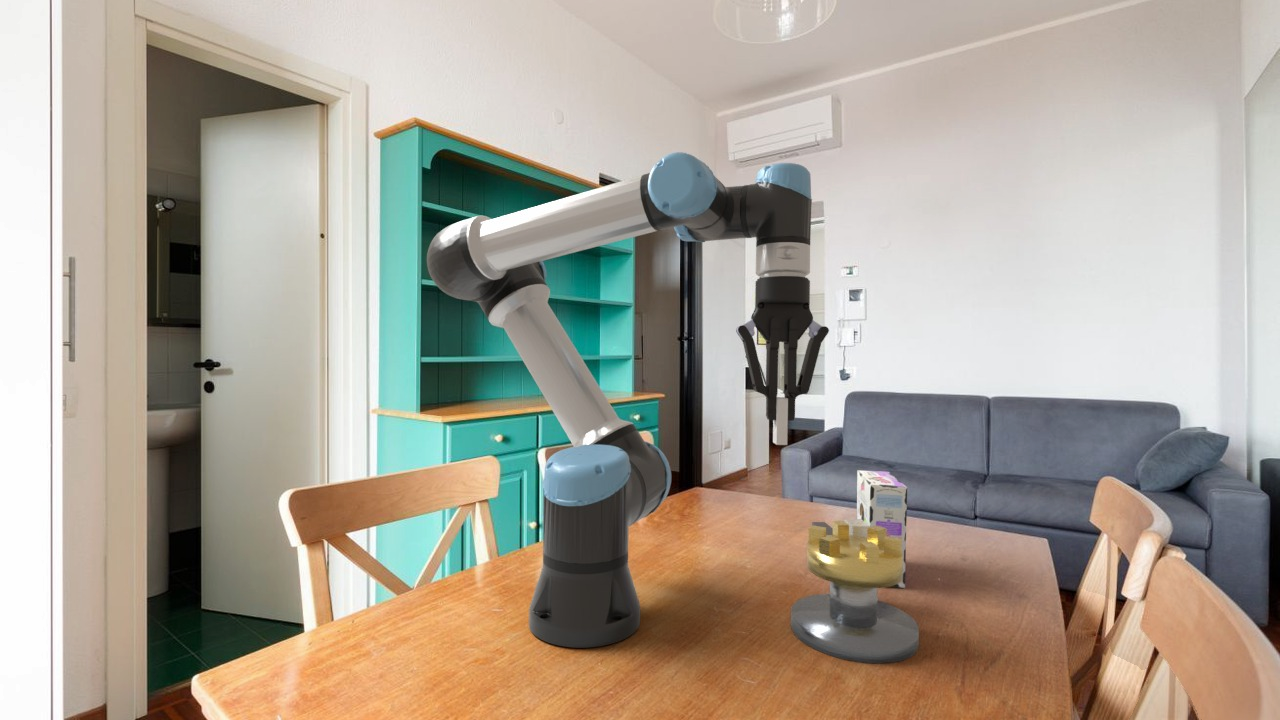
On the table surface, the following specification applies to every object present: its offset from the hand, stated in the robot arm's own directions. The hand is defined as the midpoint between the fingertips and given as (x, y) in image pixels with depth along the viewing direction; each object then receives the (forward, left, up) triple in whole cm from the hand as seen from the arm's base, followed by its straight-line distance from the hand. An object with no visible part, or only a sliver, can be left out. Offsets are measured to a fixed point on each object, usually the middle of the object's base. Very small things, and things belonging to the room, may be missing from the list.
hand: (779, 443), depth 85 cm
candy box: (+21, +18, -25) cm, 37 cm away
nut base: (+9, -3, -24) cm, 26 cm away
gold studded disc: (+9, -1, -16) cm, 18 cm away
